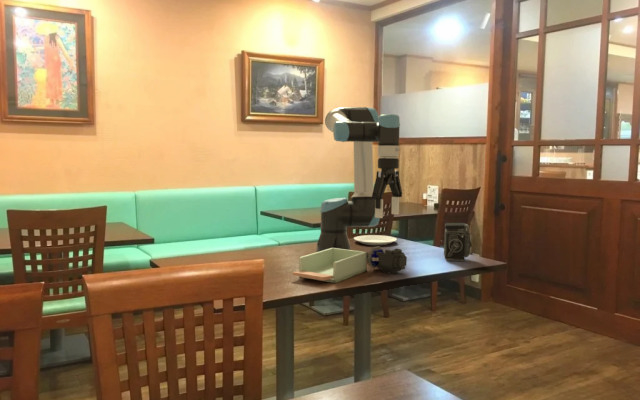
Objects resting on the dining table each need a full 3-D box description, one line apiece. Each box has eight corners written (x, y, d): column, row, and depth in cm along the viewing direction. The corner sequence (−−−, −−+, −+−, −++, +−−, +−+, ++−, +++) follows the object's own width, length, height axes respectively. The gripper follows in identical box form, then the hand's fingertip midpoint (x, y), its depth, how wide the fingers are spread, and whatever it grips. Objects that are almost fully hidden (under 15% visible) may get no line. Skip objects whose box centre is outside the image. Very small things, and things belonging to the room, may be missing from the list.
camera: (471, 263, 203) (472, 226, 202) (444, 261, 205) (445, 225, 204) (469, 257, 213) (470, 222, 212) (443, 256, 215) (444, 221, 214)
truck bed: (299, 276, 178) (299, 257, 178) (332, 265, 196) (332, 247, 196) (335, 283, 170) (335, 262, 169) (366, 270, 188) (366, 252, 188)
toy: (377, 244, 195) (410, 250, 184) (376, 266, 196) (409, 273, 185) (363, 247, 189) (396, 253, 178) (362, 270, 189) (395, 277, 179)
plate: (387, 248, 233) (387, 243, 233) (346, 244, 244) (346, 239, 243) (402, 241, 252) (402, 237, 251) (364, 238, 262) (364, 233, 261)
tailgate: (303, 273, 178) (292, 275, 172) (303, 270, 178) (292, 272, 172) (333, 278, 171) (323, 280, 166) (334, 275, 171) (323, 277, 166)
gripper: (382, 157, 171) (381, 220, 173) (411, 157, 192) (410, 213, 194) (362, 157, 175) (361, 218, 177) (393, 157, 196) (392, 212, 198)
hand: (387, 216), depth 185 cm, fingers open, 13 cm apart
